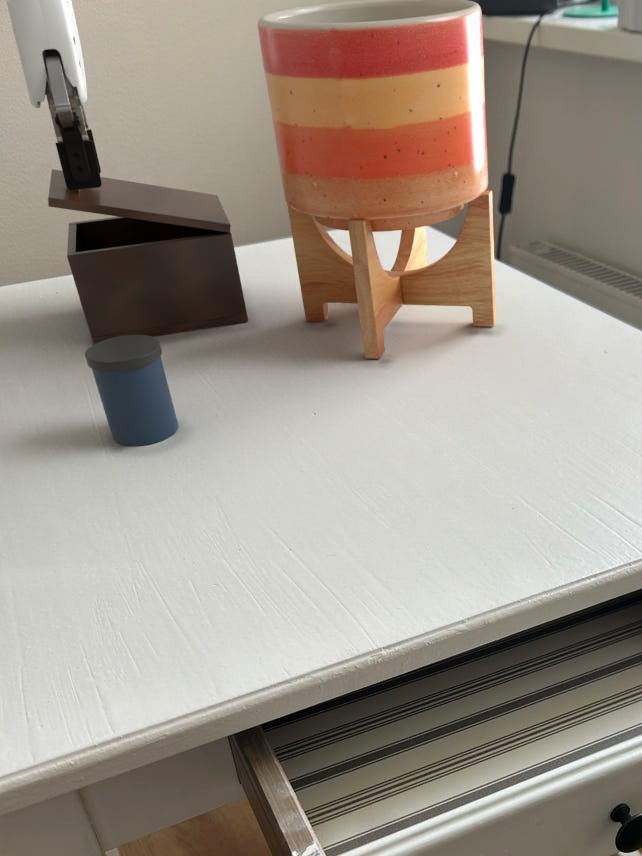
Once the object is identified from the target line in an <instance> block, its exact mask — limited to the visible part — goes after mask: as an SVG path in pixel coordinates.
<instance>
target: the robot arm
mask: <svg viewBox="0 0 642 856" xmlns="http://www.w3.org/2000/svg"><path fill="white" fill-rule="evenodd" d="M5 1H6V6H7V10H8V15H9V20H10V23H11V28H12V32H13V36H14V39H15V43H16V47H17V51H18V56H19V60H20V64H21V68H22V73H23V75H24V81H25V85H26V88H27V92H28V97H29V101H30V105H31V106H33V107H34V108H35V109H41V106H42V103H43V102H45V98H46V100H47V104H48V110H49V112H50V117H51V121H52V126H53V130H54V135H55V138H56V142H55V147H56V151H57V155H58V159H59V162H60V167H61V171H63V175H64V179H65V183H66V186H67V188H68V189H69V190H77V189H89V188H99V187H101V185H102V182H101V177H102V176H101V173H102V169H101V166H100V161H99V157H98V156H99V155H98V152H97V148H96V143H95V139H94V134H93V131H92V129H91V128H90V129H89V123H88V119H87V115H86V111H85V106H84V104H85V103H86V102H87V101H88V90H87V89H88V87H87V77H86V70H85V63H84V62H85V61H84V57H83V50H82V45H81V39H80V35H79V29H78V25H77V21H76V15H75V10H74V6H73V1H72V0H5ZM79 127H80V128H79ZM80 131H81V132H80Z"/></svg>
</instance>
